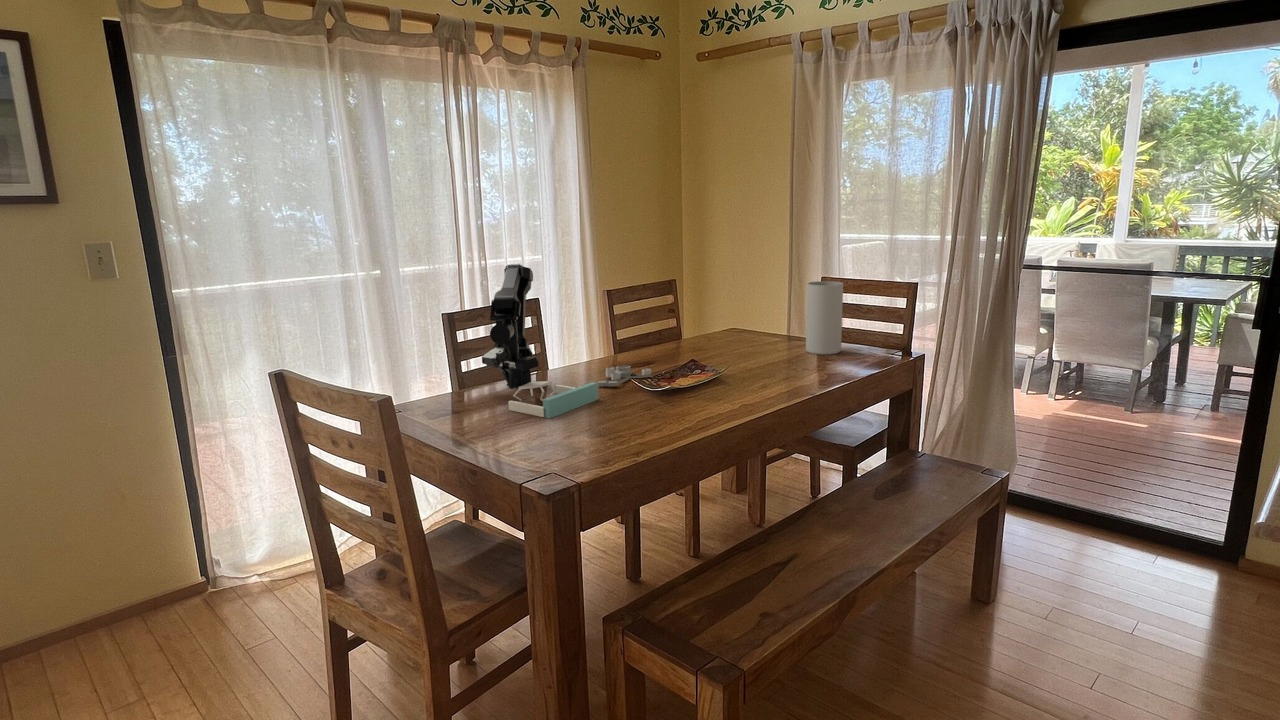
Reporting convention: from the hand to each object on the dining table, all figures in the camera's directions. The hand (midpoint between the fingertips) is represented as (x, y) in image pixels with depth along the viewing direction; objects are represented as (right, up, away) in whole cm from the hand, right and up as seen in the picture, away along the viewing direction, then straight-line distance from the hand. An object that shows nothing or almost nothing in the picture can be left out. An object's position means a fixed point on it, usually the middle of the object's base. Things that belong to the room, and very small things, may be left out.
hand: (511, 388), depth 213 cm
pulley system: (+35, +2, +17) cm, 39 cm away
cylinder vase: (+106, +12, +47) cm, 116 cm away
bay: (+14, -4, -9) cm, 17 cm away
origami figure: (+7, -3, -3) cm, 8 cm away
